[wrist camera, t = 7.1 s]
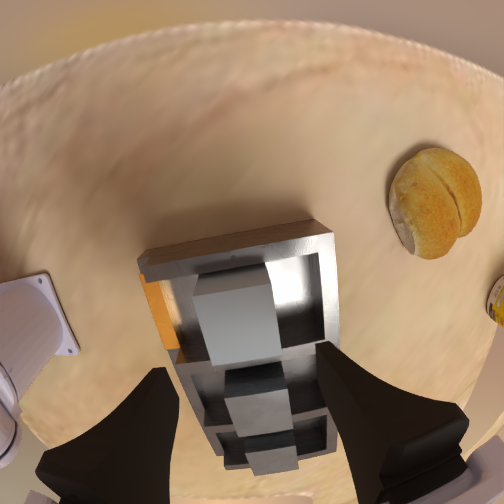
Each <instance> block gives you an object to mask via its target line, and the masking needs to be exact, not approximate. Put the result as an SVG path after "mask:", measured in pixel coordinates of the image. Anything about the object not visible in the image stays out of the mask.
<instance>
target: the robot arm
mask: <svg viewBox="0 0 504 504" xmlns="http://www.w3.org/2000/svg"><path fill="white" fill-rule="evenodd" d="M40 279H41V280H42V281H41V280H40ZM315 350H316V366H317V379H318V382H319V386H320V389H321V392H322V396H323V398H324V401H325V403H326V405H327V407H328V410H329V412H330V414H331V416H332V419H333V421H334V423H335V425H336V428H337V430H338V432H339V434H340V437H341V440H342V443H343V446H344V449H345V452H346V456H347V459H348V463H349V466H350V470H351V474H352V478H353V482H354V486H355V490H356V494H357V498H358V503H359V504H491V503H492V502H494V501H495V500H496V499H497V498H498V497H500V496H501V495H502V494H503V493H504V443H503V441H502V440H501V439H500V437H499V436H498V435H495V436H494V437H492V438H491V439H490V440H488V441H487V442H486V443H484V444H483V445H481V446H480V447H478V448H477V449H476V450H475V451H474V452H472V454H471V455H470V456H469V457H468V459H467V461H466V462H465V461H464V460H463V458H462V457H461V455H460V454H461V452H462V449H461V447H460V446H459V443H460V441H461V439H462V438H463V436H464V434H465V433H466V431H467V428H468V426H469V419H468V418H467V417H466V415H465V414H464V412H463V411H462V410H461V409H460V407H459V406H458V405H457V404H456V403H451V402H445V401H438V400H433V399H429V398H425V397H422V396H418V395H415V394H412V393H409V392H407V391H404V390H401V389H399V388H397V387H394V386H392V385H390V384H388V383H386V382H384V381H382V380H381V379H379V378H377V377H376V376H374V375H372V374H371V373H369V372H368V371H366V370H365V369H363V368H362V367H361V366H359V365H358V364H357V363H355V362H354V361H353V360H351V359H350V358H349V357H348V356H346V355H345V354H344V353H343V352H342V351H340V350H339V349H338V348H337V347H336V346H335V345H334V344H333V343H332V342H330V341H325V342H321V343H316V344H315ZM79 353H80V349H79V347H78V345H77V342H76V340H75V338H74V336H73V334H72V332H71V330H70V327H69V325H68V323H67V321H66V318H65V316H64V314H63V311H62V309H61V306H60V304H59V302H58V299H57V296H56V294H55V291H54V288H53V286H52V283H51V280H50V277H49V276H48V275H47V274H46V273H43V274H38V275H34V276H29V277H25V278H21V279H17V280H12V281H8V282H4V283H0V468H3V467H4V466H6V465H8V464H9V463H10V462H11V461H12V460H13V459H14V457H15V456H16V454H17V452H18V450H19V447H20V443H21V439H22V438H21V437H22V430H21V426H20V424H19V422H18V421H17V419H18V418H19V416H20V415H21V413H22V410H21V408H20V406H19V405H18V402H19V401H20V400H21V398H22V397H23V395H24V394H25V393H26V391H27V390H28V388H29V387H30V386H31V384H32V383H33V382H34V380H35V379H36V378H37V376H38V375H39V374H40V372H41V371H42V370H43V368H44V367H45V366H46V364H47V363H48V362H49V361H50V359H51V358H52V357H53V356H54V355H78V354H79ZM178 417H179V396H178V394H177V392H176V390H175V388H174V386H173V383H172V381H171V379H170V377H169V374H168V372H167V370H166V368H165V367H159V368H153V369H152V370H151V371H150V372H149V373H148V374H147V375H146V376H145V377H144V378H143V380H142V381H141V382H140V383H139V384H138V385H137V386H136V388H135V389H134V390H133V391H132V392H131V393H130V394H129V395H128V396H127V397H126V398H125V400H124V401H123V402H122V403H121V404H120V405H119V406H118V407H117V408H116V409H115V410H114V411H112V412H111V413H110V414H109V415H108V416H107V417H106V418H104V419H103V420H102V421H101V422H99V423H98V424H97V425H95V426H94V427H92V428H91V429H89V430H88V431H86V432H85V433H83V434H82V435H80V436H78V437H76V438H75V439H73V440H71V441H69V442H67V443H65V444H63V445H60V446H58V447H55V448H53V449H50V450H47V451H45V452H44V453H43V455H42V457H41V460H40V462H39V464H38V466H37V468H36V470H35V473H36V475H37V477H38V478H39V479H40V480H41V481H42V482H43V483H44V484H45V485H46V486H47V487H49V488H50V489H51V490H52V491H53V492H55V493H56V494H57V495H58V496H60V497H61V499H60V502H59V504H170V495H169V479H170V461H171V454H172V449H173V443H174V438H175V433H176V428H177V423H178ZM25 504H58V503H57V502H55V501H54V500H52V499H51V498H49V497H47V496H45V495H43V494H40V493H38V492H35V491H33V490H30V492H29V495H28V496H27V499H26V501H25Z"/></svg>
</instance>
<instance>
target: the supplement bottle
mask: <svg viewBox="0 0 504 504" xmlns="http://www.w3.org/2000/svg"><path fill="white" fill-rule="evenodd" d="M487 312H488V315H489V317H490V318H492V319H493V320H494V321H495V322H497V323H498V324H499V325H501V326H502V327H503V328H504V276H502V277H501V278H500V279H499V280H498V281H497V282H496V283H495V285H494V287H493V288H492V290H491V293H490V295H489V298H488V303H487Z"/></svg>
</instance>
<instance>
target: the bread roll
mask: <svg viewBox="0 0 504 504" xmlns="http://www.w3.org/2000/svg"><path fill="white" fill-rule="evenodd" d="M481 206H482V193H481V187H480V183H479V180H478V177H477V175H476V173H475V171H474V169H473V168H472V166H471V165H470V164H469V163H468V162H467V161H466V160H465V159H464V158H462V157H461V156H460V155H458V154H456V153H454V152H453V151H450V150H447V149H443V148H427V149H424V150H421V151H419V152H418V153H417V154H416V155H415V156H414V157H413V158H411V159H409V160H408V161H407V162H405V163H404V164H403V165H402V167H401V168H400V169H399V171H398V172H397V174H396V175H395V178H394V180H393V182H392V184H391V188H390V193H389V211H390V214H391V216H392V219H393V224H394V227H395V229H396V231H397V233H398V235H399V237H400V239H401V241H402V243H403V245H404V247H405V248H406V249H407V250H408V251H409V253H411V254H413V255H418V256H419V257H421V258H424V259H427V260H430V259H437V258H439V257H442V256H444V255H446V254H447V253H448V252H449V250H450V249H451V247H452V246H453V244H454V243H455V241H456V239H457V238H460V237H463V236H466V235H467V234H469V233H470V232H471V231H472V229H473V228H474V227H475V225H476V224H477V222H478V219H479V217H480V213H481Z"/></svg>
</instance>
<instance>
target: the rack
mask: <svg viewBox="0 0 504 504" xmlns="http://www.w3.org/2000/svg"><path fill="white" fill-rule="evenodd" d="M137 262H138V265H139V269H140V272H141V273H140V274H139V276H140V279H141V282H142V285H143V288H144V292H145V295H146V298H147V301H148V304H149V307H150V309H151V312H152V315H153V318H154V321H155V324H156V326H157V329H158V332H159V334H160V337H161V340H162V342H163V345H164V347H165V350H168V353H169V355H170V358H171V360H172V363H173V365H174V368H175V370H176V372H177V375H178V377H179V379H180V382H181V384H182V386H183V389H184V391H185V393H186V395H187V398H188V400H189V402H190V404H191V406H192V408H193V410H194V412H195V415H196V417H197V419H198V421H199V423H200V425H201V427H202V429H203V431H204V433H205V435H206V437H207V439H208V440H209V442H210V444H211V446H212V448H213V450H214V452H215V454H216V455H217V456H224V467H225V469H226V470H234V469H245V468H251V469H252V471H253V474H254V476H258V475H266V474H273V473H279V472H285V471H291V470H296V469H299V467H298V460H303V459H308V458H312V457H317V456H321V455H325V454H329V453H333V452H336V448H337V434H338V430H337V428H336V425H335V423H334V421H333V419H332V416H331V414H330V412H329V410H328V407H327V405H326V403H325V401H324V398H323V396H322V392H321V389H320V386H319V382H318V379H317V366H316V350H315V344H316V343H321V342H325V341H330V342H332V343H333V344H334V345H335V346H336V347H337V348H338V349H339V350H340V332H339V302H338V283H337V268H336V254H335V243H334V232H333V231H331V230H330V229H328V228H327V227H325V226H324V225H323V224H321V223H320V222H318V221H317V220H315V219H313V220H307V221H301V222H295V223H289V224H284V225H278V226H272V227H267V228H261V229H255V230H250V231H244V232H239V233H234V234H228V235H223V236H217V237H212V238H207V239H202V240H196V241H191V242H186V243H181V244H176V245H171V246H166V247H161V248H156V249H151V250H146V251H145V252H144V253H143V254H142V255H141V256H140V257H139V258H138V259H137ZM264 262H265V264H266V267H267V270H268V274H269V277H270V280H271V284H272V290H273V297H274V303H275V309H276V316H277V323H278V329H279V336H280V342H281V349H282V355H278V356H273V357H268V358H262V359H256V360H250V361H243V362H237V363H230V364H223V365H215V366H212V363H211V359H210V356H209V353H208V350H207V347H206V344H205V340H204V337H203V334H202V330H201V327H200V324H199V320H198V317H197V313H196V310H195V306H194V303H193V299H192V295H193V291H194V288H195V285H196V282H197V279H198V276H199V274H203V273H208V272H214V271H220V270H225V269H231V268H236V267H242V266H247V265H253V264H258V263H264Z"/></svg>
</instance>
